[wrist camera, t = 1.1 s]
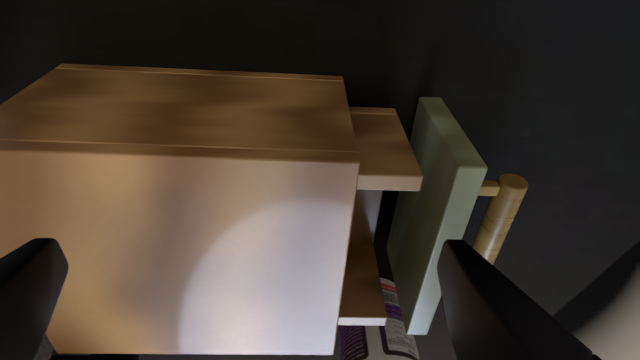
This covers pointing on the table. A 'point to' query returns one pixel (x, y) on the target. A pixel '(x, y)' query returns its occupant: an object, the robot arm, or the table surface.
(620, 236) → the table surface
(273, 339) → the cabinet
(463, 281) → the robot arm
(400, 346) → the pill bottle
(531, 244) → the table surface
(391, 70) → the table surface
